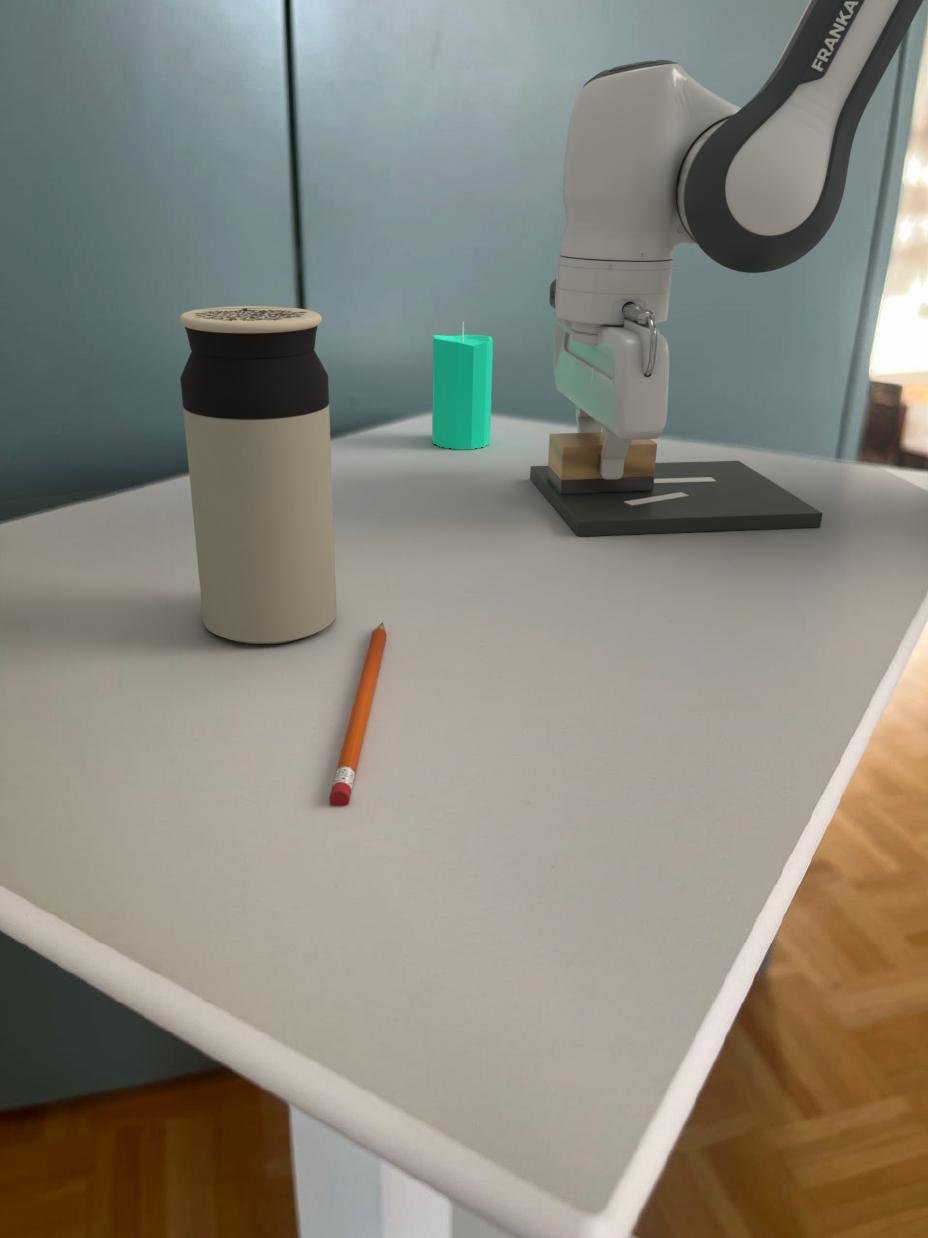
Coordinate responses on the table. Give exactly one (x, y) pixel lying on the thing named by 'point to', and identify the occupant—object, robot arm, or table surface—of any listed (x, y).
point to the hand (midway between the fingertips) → (599, 467)
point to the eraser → (579, 460)
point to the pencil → (358, 721)
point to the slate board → (683, 502)
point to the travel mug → (260, 472)
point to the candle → (462, 390)
